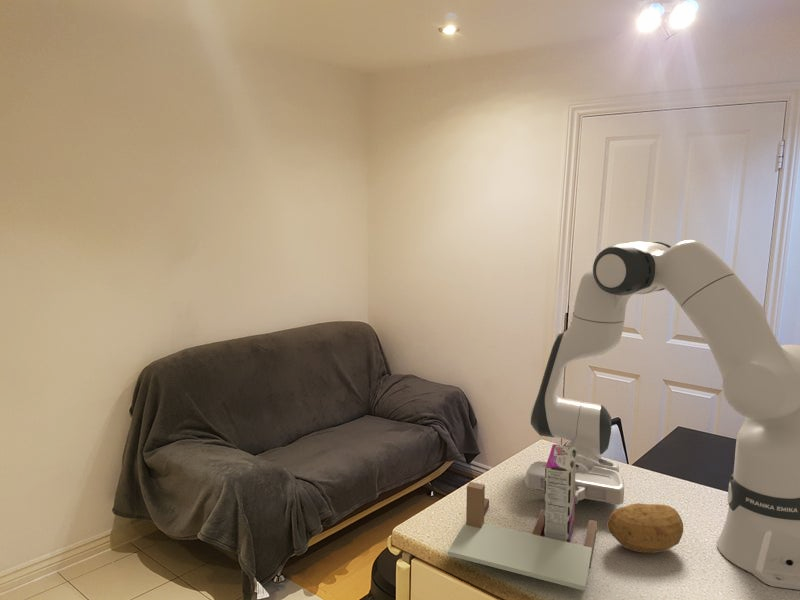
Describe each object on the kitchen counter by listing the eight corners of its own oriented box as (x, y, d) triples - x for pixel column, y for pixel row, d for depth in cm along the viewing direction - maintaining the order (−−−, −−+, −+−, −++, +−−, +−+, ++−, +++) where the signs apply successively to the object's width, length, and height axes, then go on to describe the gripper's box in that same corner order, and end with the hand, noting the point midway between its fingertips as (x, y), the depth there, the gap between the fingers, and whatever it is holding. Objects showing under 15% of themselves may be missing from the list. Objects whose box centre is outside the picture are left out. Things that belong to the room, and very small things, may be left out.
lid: (591, 551, 99) (594, 506, 98) (585, 590, 89) (587, 540, 87) (466, 523, 109) (467, 481, 107) (447, 555, 98) (448, 509, 97)
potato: (595, 535, 108) (597, 497, 107) (663, 531, 109) (666, 494, 108) (619, 566, 98) (622, 524, 97) (694, 561, 100) (697, 520, 99)
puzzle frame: (596, 530, 110) (597, 521, 109) (590, 568, 98) (590, 557, 98) (482, 506, 119) (482, 497, 119) (464, 537, 107) (464, 528, 107)
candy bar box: (549, 517, 114) (552, 443, 112) (574, 522, 113) (577, 446, 110) (541, 547, 104) (544, 465, 102) (568, 553, 102) (572, 470, 100)
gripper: (532, 450, 128) (519, 475, 116) (626, 465, 120) (623, 494, 108) (531, 475, 129) (518, 502, 117) (624, 492, 121) (621, 524, 109)
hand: (569, 499), depth 112 cm, fingers closed, pressing on candy bar box
